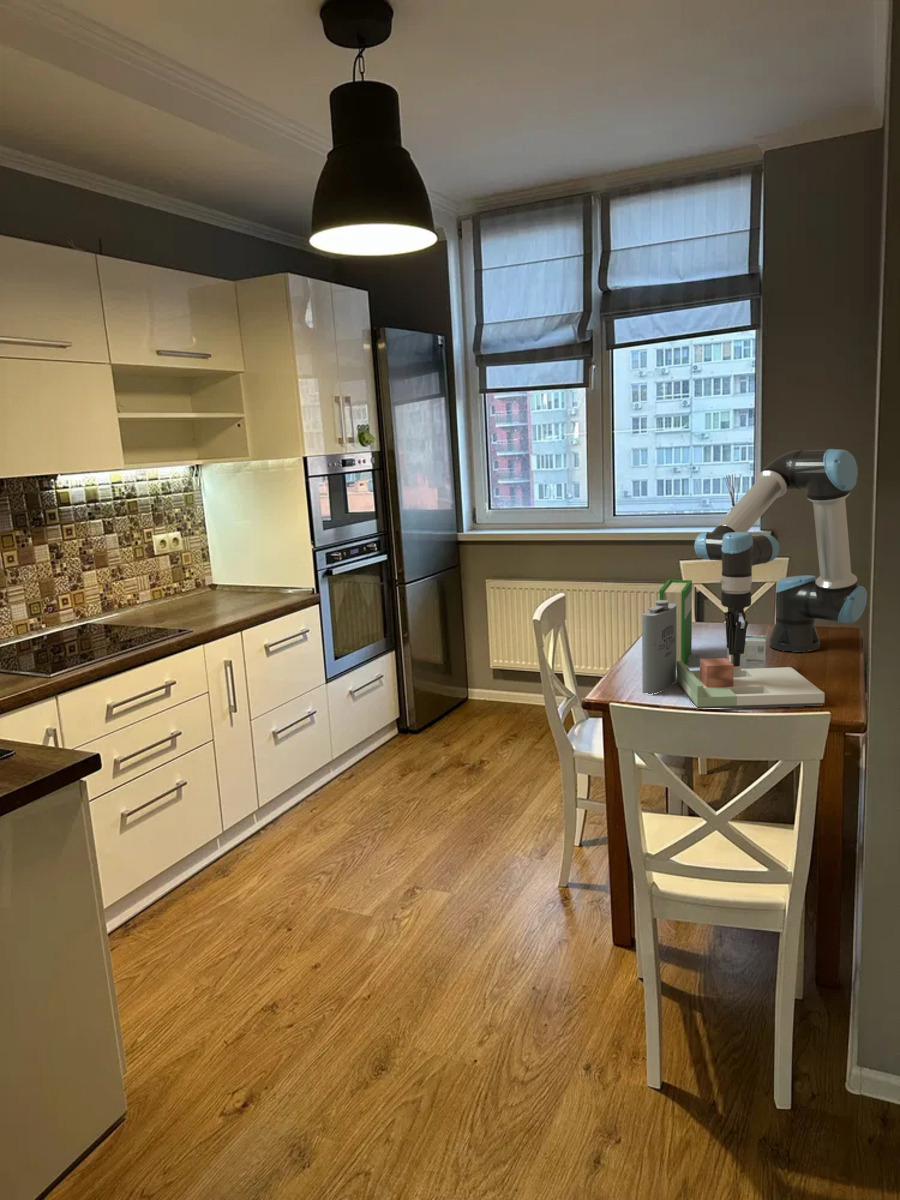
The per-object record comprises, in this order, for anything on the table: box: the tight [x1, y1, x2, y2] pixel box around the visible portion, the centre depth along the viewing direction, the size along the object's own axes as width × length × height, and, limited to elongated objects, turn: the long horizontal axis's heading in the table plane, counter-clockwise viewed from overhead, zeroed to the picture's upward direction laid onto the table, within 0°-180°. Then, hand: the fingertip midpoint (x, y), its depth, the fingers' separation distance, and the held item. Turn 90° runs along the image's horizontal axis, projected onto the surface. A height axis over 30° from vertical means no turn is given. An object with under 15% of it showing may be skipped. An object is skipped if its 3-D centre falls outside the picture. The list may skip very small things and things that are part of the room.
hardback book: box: [659, 579, 693, 666], centre depth 255 cm, size 18×7×24 cm, turn 157°
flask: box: [641, 599, 677, 694], centre depth 229 cm, size 17×5×25 cm, turn 143°
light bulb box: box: [727, 634, 767, 669], centre depth 240 cm, size 11×7×11 cm, turn 71°
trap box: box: [676, 661, 826, 711], centre depth 221 cm, size 32×24×6 cm
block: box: [699, 657, 734, 688], centre depth 220 cm, size 7×7×6 cm
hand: (734, 676), depth 221 cm, fingers closed
